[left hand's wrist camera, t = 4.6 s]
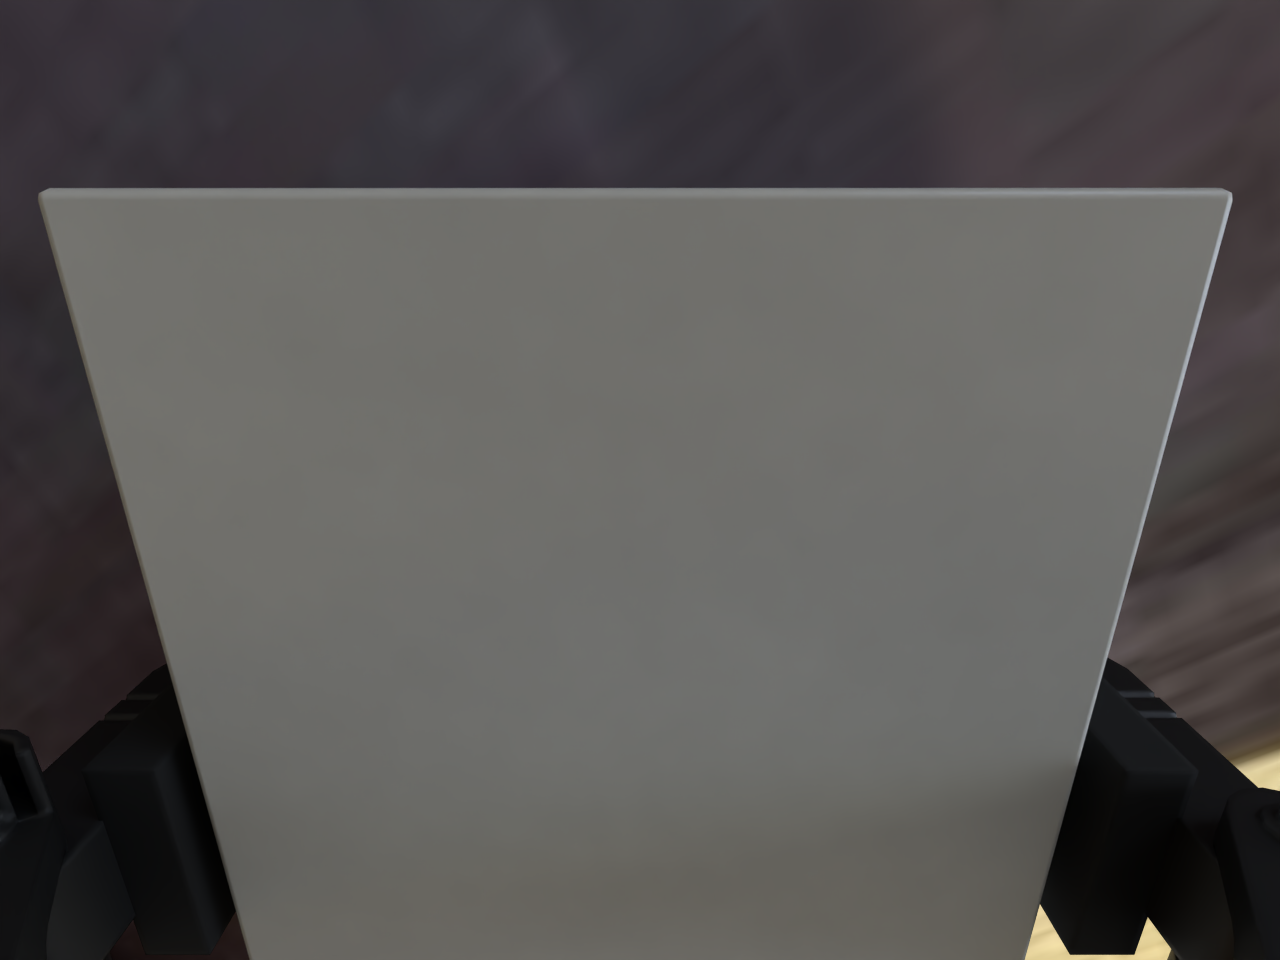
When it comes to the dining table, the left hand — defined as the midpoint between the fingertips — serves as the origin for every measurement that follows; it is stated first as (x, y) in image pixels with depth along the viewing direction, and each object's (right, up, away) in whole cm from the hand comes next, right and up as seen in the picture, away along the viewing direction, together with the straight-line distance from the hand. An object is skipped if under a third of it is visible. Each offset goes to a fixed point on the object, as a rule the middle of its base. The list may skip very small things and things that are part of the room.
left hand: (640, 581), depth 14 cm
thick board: (0, -23, +9) cm, 25 cm away
